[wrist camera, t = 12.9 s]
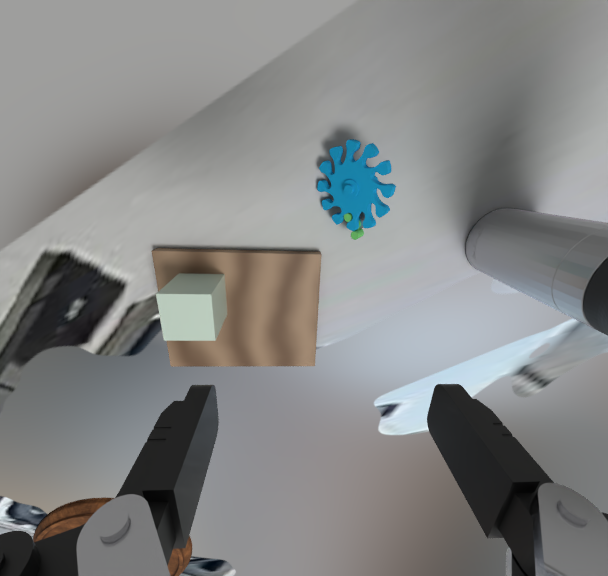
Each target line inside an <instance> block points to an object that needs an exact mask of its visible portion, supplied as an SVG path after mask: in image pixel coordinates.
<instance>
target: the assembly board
mask: <svg viewBox="0 0 608 576" xmlns="http://www.w3.org/2000/svg"><path fill="white" fill-rule="evenodd" d="M152 256H153V262H154V268H155V274H156V280H157V286H158V292H159V291H160V290H161V289H162V288H163V287H164V286H165V285H166V284H168V283H169V282H170V281H171V280H172V279H173V278H174V277H175V276H177V275H178V274H179V273H184V274H225V288H226V302H227V316H226V318H225V321H224V323H223V325H222V327H221V330H220V332H219V334H218V336H217V338H216V341H167V346H168V352H169V358H170V364H171V366H315V354H316V337H317V320H318V303H319V286H320V268H321V252H312V251H265V250H219V249H172V248H156V249H154V250H152Z"/></svg>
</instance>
